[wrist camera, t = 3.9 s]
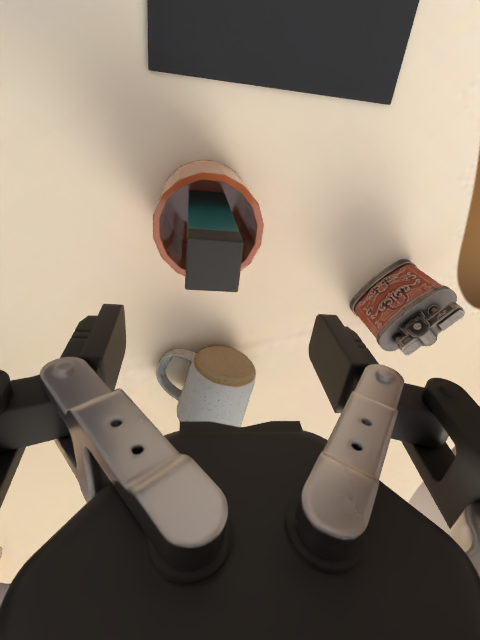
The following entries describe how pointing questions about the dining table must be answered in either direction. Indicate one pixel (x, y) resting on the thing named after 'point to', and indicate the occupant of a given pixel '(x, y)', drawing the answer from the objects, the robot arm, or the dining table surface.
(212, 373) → the ceramic mug
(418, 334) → the lighter
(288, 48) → the mat
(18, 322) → the dining table surface
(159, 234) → the pen cup
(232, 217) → the block
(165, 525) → the robot arm
